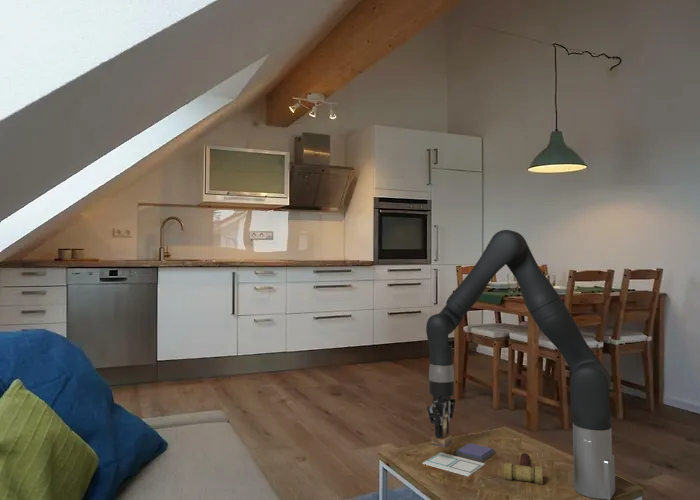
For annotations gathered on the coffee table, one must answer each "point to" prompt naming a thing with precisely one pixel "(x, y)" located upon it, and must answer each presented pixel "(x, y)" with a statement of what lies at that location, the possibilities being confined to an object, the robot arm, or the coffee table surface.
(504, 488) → the coffee table surface
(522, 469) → the gavel
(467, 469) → the sheet
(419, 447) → the coffee table surface
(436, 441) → the stamp
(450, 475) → the coffee table surface
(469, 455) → the ink pad
